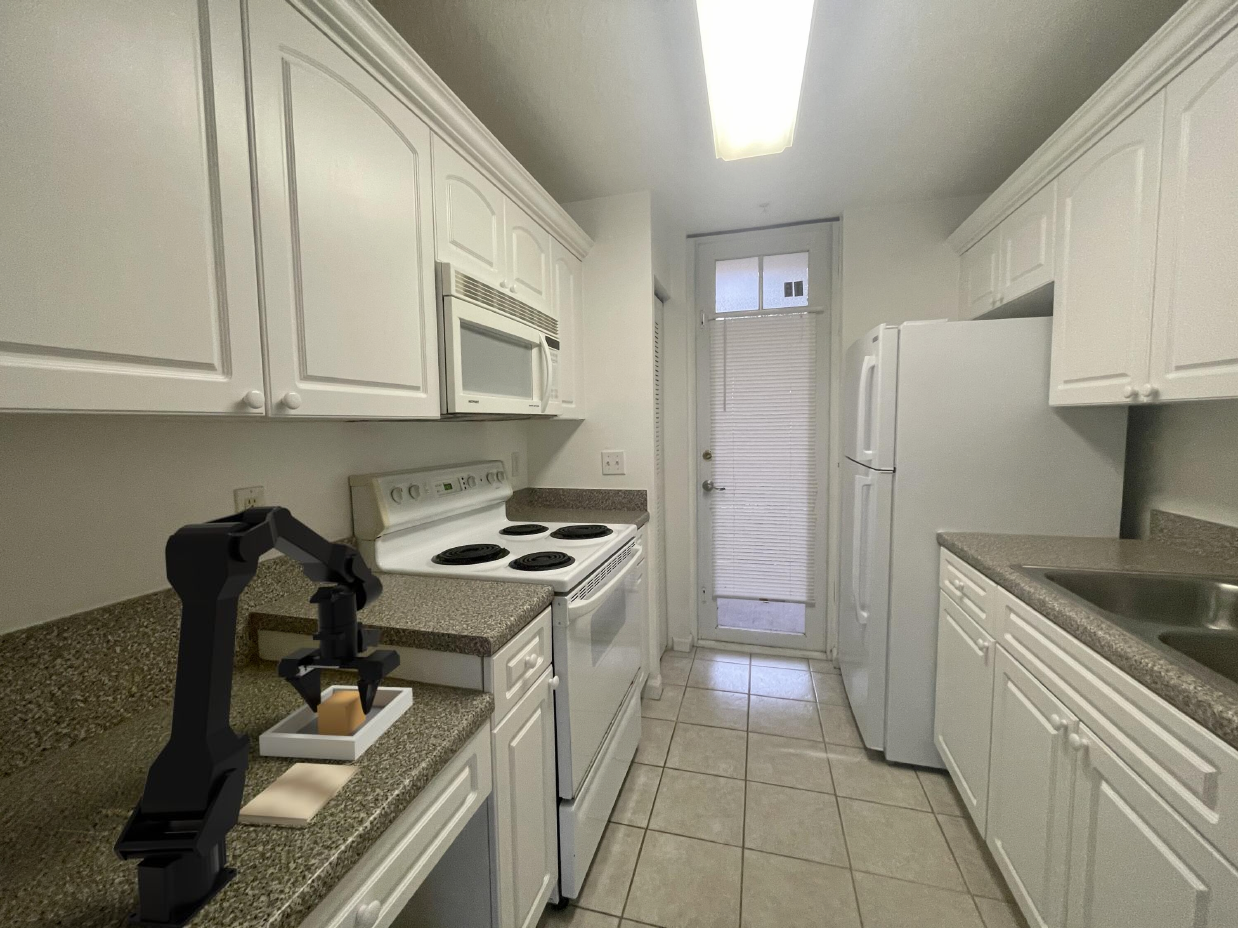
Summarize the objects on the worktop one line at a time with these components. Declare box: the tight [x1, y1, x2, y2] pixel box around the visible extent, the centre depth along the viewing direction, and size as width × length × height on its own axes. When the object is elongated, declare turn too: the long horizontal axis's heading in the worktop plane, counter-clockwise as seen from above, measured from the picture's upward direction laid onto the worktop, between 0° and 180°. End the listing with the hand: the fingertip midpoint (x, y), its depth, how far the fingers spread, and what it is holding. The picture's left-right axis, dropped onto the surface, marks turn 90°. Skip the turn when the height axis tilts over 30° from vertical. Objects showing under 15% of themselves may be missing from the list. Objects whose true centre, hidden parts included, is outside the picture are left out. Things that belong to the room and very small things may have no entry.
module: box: [317, 691, 366, 736], centre depth 81 cm, size 5×5×5 cm
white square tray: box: [258, 684, 414, 761], centre depth 81 cm, size 16×16×4 cm
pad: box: [238, 762, 360, 827], centre depth 66 cm, size 10×10×1 cm
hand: (342, 712), depth 81 cm, fingers open, 9 cm apart
